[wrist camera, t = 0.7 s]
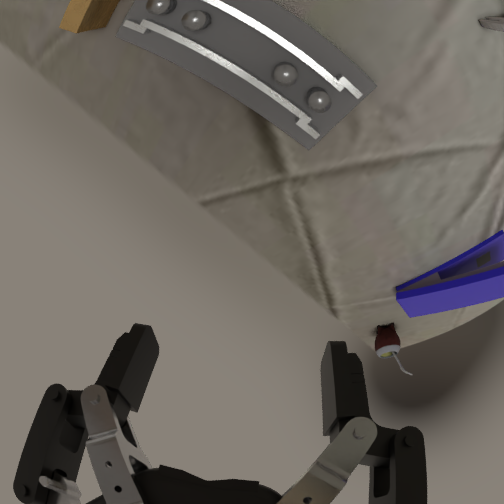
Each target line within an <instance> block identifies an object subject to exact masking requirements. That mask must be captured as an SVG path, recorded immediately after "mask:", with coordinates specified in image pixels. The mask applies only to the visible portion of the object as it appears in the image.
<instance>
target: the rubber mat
mask: <svg viewBox="0 0 504 504" xmlns="http://www.w3.org/2000/svg"><path fill="white" fill-rule="evenodd" d="M147 1H148V0H135V1H134V3H133V5H132V6H131V8H130V10H129V12H128V13H127V15H126V17H125V19H124V21H123V22H122V24H121V26H120V28H119V30H118V32H117V34H116V36H115V37H117V38H120V39H122V40H124V41H127V42H129V43H132V44H134V45H136V46H138V47H141V48H143V49H145V50H147V51H149V52H152V53H154V54H156V55H158V56H160V57H162V58H164V59H166V60H168V61H170V62H172V63H174V64H176V65H178V66H180V67H182V68H184V69H185V70H187V71H189V72H191V73H193V74H195V75H196V76H198V77H200V78H202V79H204V80H205V81H207V82H209V83H211V84H212V85H214V86H216V87H217V88H219V89H221V90H222V91H224V92H226V93H227V94H229V95H230V96H232V97H234V98H235V99H237V100H238V101H240V102H242V103H243V104H245V105H246V106H248V107H249V108H251V109H252V110H254V111H255V112H257V113H258V114H260V115H261V116H263V117H264V118H265V119H267V120H268V121H270V122H271V123H273V124H274V125H275V126H277V127H278V128H280V129H281V130H282V131H284V132H285V133H286V134H288V135H289V136H291V137H292V138H293V139H295V140H296V141H297V142H299V143H300V144H301V145H302V146H304V147H305V148H306V149H308V150H310V149H311V148H312V147H313V146H314V145H315V144H316V143H317V142H318V141H319V140H320V139H321V138H322V137H324V136H325V135H326V134H327V133H328V132H329V131H330V130H331V129H332V128H333V127H334V126H335V125H336V124H337V123H338V122H339V121H340V120H341V119H342V118H344V117H345V116H346V115H347V114H348V113H349V112H350V111H351V110H352V109H353V108H354V107H355V106H356V105H357V104H359V103H360V102H361V101H362V100H363V99H364V98H365V97H366V96H367V95H368V94H369V93H370V92H372V91H373V90H374V89H375V88H376V87H377V85H376V84H375V83H374V82H373V81H372V80H371V79H370V78H369V77H368V76H367V75H366V74H365V73H364V72H363V71H362V70H361V69H360V68H359V67H358V66H357V65H356V64H355V63H354V62H353V61H351V60H350V59H349V58H348V57H347V56H346V55H345V54H344V53H342V52H341V51H340V50H339V49H338V48H337V47H335V46H334V45H333V44H332V43H331V42H329V41H328V40H327V39H326V38H324V37H323V36H322V35H321V34H319V33H318V32H317V31H316V30H314V29H313V28H312V27H310V26H309V25H307V24H306V23H305V22H303V21H302V20H300V19H299V18H298V17H296V16H295V15H293V14H292V13H290V12H289V11H287V10H286V9H284V8H283V7H281V6H280V5H278V4H276V3H275V2H273V1H271V0H220V1H222V2H224V3H226V4H228V5H230V6H232V7H234V8H236V9H237V10H239V11H241V12H243V13H245V14H246V15H248V16H250V17H252V18H253V19H255V20H257V21H258V22H260V23H261V24H263V25H265V26H266V27H268V28H269V29H271V30H273V31H274V32H276V33H277V34H279V35H280V36H282V37H283V38H284V39H286V40H287V41H289V42H290V43H292V44H293V45H294V46H296V47H297V48H299V49H300V50H301V51H303V52H304V53H305V54H307V55H308V56H309V57H310V58H312V59H313V60H314V61H316V62H317V63H318V64H319V65H320V66H322V67H323V68H324V69H325V70H327V71H328V72H329V73H330V74H331V75H332V76H334V77H335V78H336V77H337V76H338V75H339V74H341V75H342V76H344V77H345V78H346V79H347V80H348V81H349V82H350V83H351V84H352V85H353V86H354V87H355V88H357V89H358V90H359V91H360V92H361V93H362V94H363V95H362V96H361V97H360V98H359V99H357V98H356V97H355V96H354V95H353V94H352V93H351V92H350V91H349V90H348V89H347V88H346V87H344V88H343V89H342V90H341V91H339V90H337V89H336V88H335V87H334V86H333V85H332V84H331V83H329V82H328V81H327V80H326V79H325V78H323V77H322V76H321V75H320V74H319V73H317V72H316V71H315V70H314V69H312V68H311V67H310V66H309V65H307V64H306V63H305V62H303V61H302V60H301V59H299V58H298V57H297V56H295V55H294V54H293V53H291V52H290V51H288V50H287V49H286V48H284V47H283V46H281V45H280V44H278V43H277V42H275V41H274V40H272V39H271V38H269V37H268V36H266V35H265V34H263V33H262V32H260V31H258V30H257V29H255V28H253V27H252V26H250V25H248V24H247V23H245V22H243V21H242V20H240V19H238V18H236V17H234V16H233V15H231V14H229V13H227V12H225V11H223V10H221V9H219V8H217V7H215V6H213V5H211V4H209V3H207V2H205V1H203V0H176V1H177V6H176V8H175V10H174V11H173V12H171V13H169V14H150V13H149V12H148V11H147V9H146V4H147ZM191 10H200V11H205V12H207V13H209V14H210V16H211V23H210V25H209V26H208V27H207V28H205V29H202V30H195V31H190V30H187V29H185V28H184V27H183V26H182V23H181V20H182V17H183V15H184V14H185V13H186V12H188V11H191ZM126 19H134V20H136V21H139V22H142V20H143V19H151V20H154V21H156V22H159V23H161V24H163V25H165V26H168V27H170V28H172V29H174V30H176V31H179V32H181V33H183V34H185V35H187V36H189V37H191V38H193V39H195V40H197V41H199V42H201V43H202V44H204V45H206V46H208V47H210V48H212V49H213V50H215V51H217V52H219V53H221V54H222V55H224V56H226V57H227V58H229V59H231V60H233V61H234V62H236V63H237V64H239V65H241V66H242V67H244V68H246V69H247V70H249V71H250V72H252V73H253V74H255V75H256V76H258V77H259V78H261V79H262V80H264V81H265V82H267V83H268V84H270V85H271V86H273V87H274V88H275V89H277V90H278V91H280V92H281V93H282V94H284V95H285V96H286V97H288V98H289V99H291V100H292V101H293V102H294V103H296V104H297V105H298V106H300V107H301V108H302V109H304V110H305V111H306V112H307V113H309V114H310V115H311V118H312V120H311V121H310V123H311V124H312V125H313V126H315V127H316V128H317V129H318V130H319V132H320V136H319V137H318V138H317V139H315V138H313V137H312V136H311V135H310V134H308V133H307V132H306V131H304V130H303V129H302V128H301V127H299V126H298V125H297V124H296V123H295V119H296V118H297V116H296V115H295V114H293V113H292V112H291V111H289V110H288V109H287V108H285V107H284V106H283V105H281V104H280V103H278V102H277V101H276V100H274V99H273V98H271V97H270V96H269V95H267V94H266V93H264V92H263V91H261V90H260V89H258V88H257V87H255V86H254V85H252V84H251V83H249V82H248V81H246V80H245V79H243V78H241V77H240V76H238V75H237V74H235V73H233V72H232V71H230V70H228V69H227V68H225V67H223V66H222V65H220V64H218V63H216V62H215V61H213V60H211V59H209V58H208V57H206V56H204V55H202V54H200V53H198V52H197V51H195V50H193V49H191V48H189V47H187V46H185V45H183V44H181V43H179V42H177V41H175V40H173V39H171V38H169V37H166V36H164V35H162V34H160V33H158V32H155V31H153V30H150V32H149V33H145V34H143V33H140V32H138V31H135V30H133V29H130V28H128V27H125V26H123V24H124V22H125V20H126ZM281 62H289V63H291V64H293V65H294V66H295V68H296V70H297V73H298V79H297V81H296V83H295V84H293V85H292V86H288V87H285V86H281V85H279V84H278V83H277V82H276V81H275V80H274V69H275V66H276V65H277V64H279V63H281ZM312 87H321V88H323V89H325V90H326V92H327V93H328V95H329V97H330V98H331V101H332V105H331V108H330V109H329V110H328V111H326V112H324V113H317V112H315V111H313V110H312V109H311V108H310V106H309V103H308V100H307V92H308V90H309V89H310V88H312Z"/></svg>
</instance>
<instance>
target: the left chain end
mask: <svg viewBox="0 0 504 504" xmlns="http://www.w3.org/2000/svg"><path fill="white" fill-rule="evenodd" d="M203 1H205V2H207V3H209V4H211V5H213V6H215V7H217V8H219V9H221V10H223V11H225V12H227V13H229V14H231V15H233V16H234V17H236V18H238V19H240V20H242V21H243V22H245V23H247V24H248V25H250V26H252V27H253V28H256V27H257V25H258V24H259V23H260V22H258V21H257V20H255V19H253V18H252V17H250V16H248V15H246V14H245V13H243V12H241V11H239V10H237V9H236V8H234V7H232V6H230V5H228V4H226V3H224V2H222V1H220V0H203ZM176 6H177V1H176V0H148V1H147V4H146V9H147V11H148V12H149V13H150V14H169V13H171V12H173V11H174V10H175V8H176ZM181 23H182V26H183V27H184V28H185V29H187V30H190V31H195V30H202V29H205V28H207V27H208V26H209V25H210V23H211V16H210V14H209V13H207V12H205V11H200V10H191V11H188V12H186V13H185V14H184V15H183V17H182V20H181ZM123 26H125V27H128V28H130V29H133V30H135V31H138V32H140V33H143V34H145V33H149V32H150V30H153V31H155V32H158V33H160V34H162V35H164V36H166V37H169V38H171V39H173V40H175V41H177V42H179V43H181V44H183V45H185V46H187V47H189V48H191V49H193V50H195V51H197V52H198V53H200V54H202V55H204V56H206V57H208V58H209V59H211V60H213V61H215V62H216V63H218V64H220V65H222V66H223V67H224V66H225V65H226V64H227V62H228V61H229V60H231V59H229V58H227V57H226V56H224V55H222V54H221V53H219V52H217V51H215V50H213V49H212V48H210V47H208V46H206V45H204V44H202V43H201V42H199V41H197V40H195V39H193V38H191V37H189V36H187V35H185V34H183V33H181V32H179V31H176V30H174V29H172V28H170V27H168V26H165V25H163V24H161V23H159V22H156V21H154V20H151V19H143V20H142V22H139V21H136V20H134V19H126V20H125V22H124V24H123Z"/></svg>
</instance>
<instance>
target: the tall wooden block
mask: <svg viewBox="0 0 504 504" xmlns="http://www.w3.org/2000/svg"><path fill="white" fill-rule="evenodd" d="M119 1H120V0H71V1H70V3H69V5H68V7H67V10H66V12H65V14H64V17H63V19H62V21H61V24H60V27H59V28H61V29H65V30H68V31H71V32H74V33H80V32H84V31H88V30H93V29H98V28H103V27H106V25H107V23H108V21H109V19H110V17H111V15H112V13H113V12H114V10H115V8H116V6H117V4H118V2H119Z"/></svg>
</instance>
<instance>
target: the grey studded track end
mask: <svg viewBox="0 0 504 504" xmlns="http://www.w3.org/2000/svg"><path fill="white" fill-rule="evenodd" d="M255 29H257V30H258V31H260V32H262V33H263V34H265V35H266V36H268V37H269V38H271V39H272V40H274V41H275V42H277V43H278V44H280V45H281V46H283V47H284V48H286V49H287V50H288V51H290V52H291V53H293V54H294V55H295V56H297V57H298V58H299V59H301V60H302V61H303V62H305V63H306V64H307V65H309V66H310V67H311V68H312V69H314V70H315V71H316V72H317V73H319V74H320V75H321V76H322V77H323V78H325V79H326V80H327V81H328V82H329V83H331V84H332V85H333V86H334V87H335V88H336V89H337V90H339V91H341V90H342V89H343V88H344V87H346V88H347V89H348V90H349V91H350V92H351V93H352V94H353V95H354V96H355V97H356V98H357V99H359V98H360V97H361V96H362V95H363V94H362V93H361V92H360V91H359V90H358V89H357V88H355V87H354V86H353V85H352V84H351V83H350V82H349V81H348V80H347V79H346V78H345V77H344V76H342V75H341V74H339V75H338V76H337V77H336V78H335V77H334V76H332V75H331V74H330V73H329V72H328V71H327V70H325V69H324V68H323V67H322V66H320V65H319V64H318V63H317V62H316V61H314V60H313V59H312V58H310V57H309V56H308V55H307V54H305V53H304V52H303V51H301V50H300V49H299V48H297V47H296V46H294V45H293V44H292V43H290V42H289V41H287V40H286V39H284V38H283V37H282V36H280V35H279V34H277V33H276V32H274V31H273V30H271V29H269V28H268V27H266V26H265V25H263V24H261V23H259V24H258V25H257V27H256V28H255ZM224 67H225V68H227V69H228V70H230V71H232V72H233V73H235V74H237V75H238V76H240V77H241V78H243V79H245V80H246V81H248V82H249V83H251V84H252V85H254V86H255V87H257V88H258V89H260V90H261V91H263V92H264V93H266V94H267V95H269V96H270V97H271V98H273V99H274V100H276V101H277V102H278V103H280V104H281V105H283V106H284V107H285V108H287V109H288V110H289V111H291V112H292V113H293V114H295V115H296V116H297V118H296V119H295V123H296V124H297V125H298V126H299V127H301V128H302V129H303V130H304V131H306V132H307V133H308V134H310V135H311V136H312V137H313V138H315V139H317V138H318V137H319V136H320V132H319V130H318V129H317V128H316V127H315V126H313V125H312V124H311V123H310V121H311V120H312V118H311V115H310V114H309V113H307V112H306V111H305V110H304V109H302V108H301V107H300V106H298V105H297V104H296V103H294V102H293V101H292V100H291V99H289V98H288V97H286V96H285V95H284V94H282V93H281V92H280V91H278V90H277V89H275V88H274V87H273V86H271V85H270V84H268V83H267V82H265V81H264V80H262V79H261V78H259V77H258V76H256V75H255V74H253V73H252V72H250V71H249V70H247V69H246V68H244V67H242V66H241V65H239V64H237V63H236V62H234V61H233V60H229V61H228V62H227V64H226V65H225V66H224ZM297 79H298V73H297V70H296V68H295V66H294V65H293V64H291V63H289V62H281V63H279V64H277V65H276V66H275V69H274V80H275V81H276V82H277V83H278V84H279V85H281V86H285V87H288V86H292V85H293V84H295V83H296V81H297ZM307 100H308V103H309V106H310V108H311V109H312V110H313V111H315V112H317V113H324V112H326V111H328V110H329V109H330V108H331V105H332V101H331V98H330V97H329V95H328V93H327V92H326V90H325V89H323V88H321V87H312V88H310V89H309V90H308V92H307Z"/></svg>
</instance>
